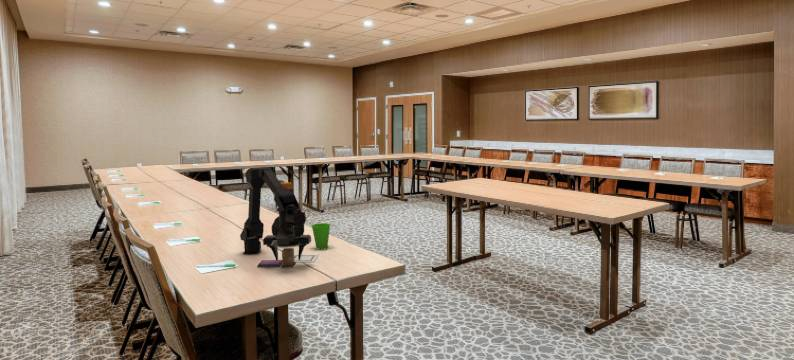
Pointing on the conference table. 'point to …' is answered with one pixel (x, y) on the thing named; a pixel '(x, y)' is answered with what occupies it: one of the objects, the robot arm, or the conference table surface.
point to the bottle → (297, 230)
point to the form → (305, 258)
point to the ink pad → (270, 263)
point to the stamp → (288, 258)
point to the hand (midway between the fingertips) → (288, 260)
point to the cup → (321, 234)
